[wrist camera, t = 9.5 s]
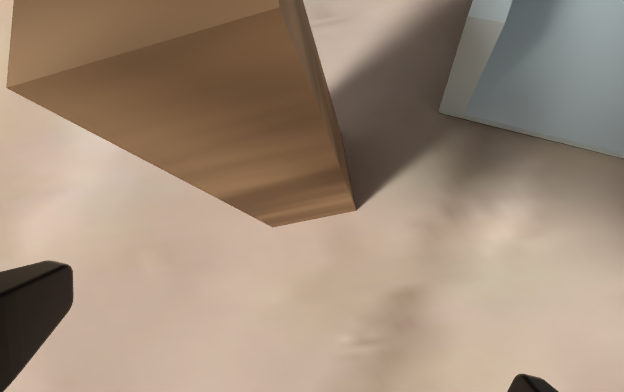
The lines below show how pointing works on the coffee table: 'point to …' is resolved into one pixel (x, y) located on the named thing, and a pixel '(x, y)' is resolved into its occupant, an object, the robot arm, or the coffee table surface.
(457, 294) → the coffee table surface
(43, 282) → the robot arm
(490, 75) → the crate
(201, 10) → the walnut block
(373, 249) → the coffee table surface
